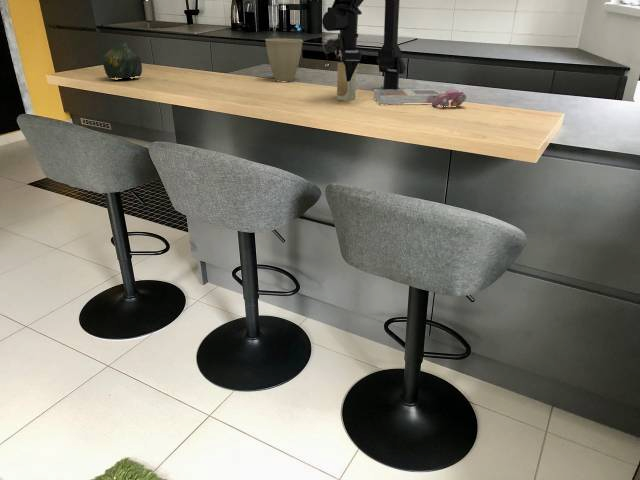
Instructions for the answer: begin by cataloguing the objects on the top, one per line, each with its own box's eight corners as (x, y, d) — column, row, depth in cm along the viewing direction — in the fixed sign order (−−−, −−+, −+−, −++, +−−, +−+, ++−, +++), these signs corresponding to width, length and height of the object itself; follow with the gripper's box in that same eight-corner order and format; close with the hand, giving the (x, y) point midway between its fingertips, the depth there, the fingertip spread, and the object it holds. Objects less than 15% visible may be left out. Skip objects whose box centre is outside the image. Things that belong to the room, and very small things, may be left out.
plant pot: (301, 84, 205) (301, 41, 198) (264, 83, 205) (263, 40, 198) (303, 78, 218) (303, 38, 211) (268, 77, 219) (267, 37, 212)
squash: (89, 66, 202) (106, 36, 195) (113, 63, 216) (131, 35, 209) (115, 92, 204) (133, 64, 196) (138, 88, 217) (156, 61, 210)
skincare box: (344, 97, 180) (346, 60, 175) (355, 98, 178) (357, 61, 173) (335, 99, 175) (337, 62, 170) (347, 101, 173) (348, 63, 168)
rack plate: (373, 98, 179) (374, 88, 178) (434, 98, 181) (435, 88, 180) (380, 104, 169) (380, 94, 167) (445, 104, 171) (446, 94, 169)
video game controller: (435, 113, 166) (442, 95, 160) (430, 104, 168) (436, 86, 163) (462, 112, 168) (470, 94, 163) (457, 103, 171) (464, 85, 165)
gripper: (321, 28, 175) (320, 75, 182) (326, 31, 158) (325, 83, 165) (353, 28, 176) (351, 75, 183) (362, 32, 159) (360, 83, 166)
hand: (346, 79), depth 174 cm, fingers closed on skincare box, 7 cm apart
